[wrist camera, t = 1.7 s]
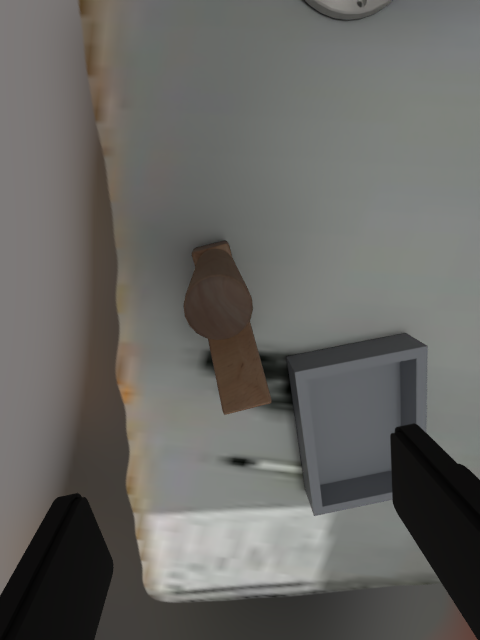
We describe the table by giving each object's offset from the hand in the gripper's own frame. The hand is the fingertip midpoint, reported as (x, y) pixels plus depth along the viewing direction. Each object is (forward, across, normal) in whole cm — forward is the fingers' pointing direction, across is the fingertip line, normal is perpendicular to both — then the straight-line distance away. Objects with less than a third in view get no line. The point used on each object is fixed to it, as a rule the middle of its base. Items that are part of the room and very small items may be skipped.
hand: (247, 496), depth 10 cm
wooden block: (+26, 0, 0) cm, 26 cm away
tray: (+26, -13, +18) cm, 35 cm away
